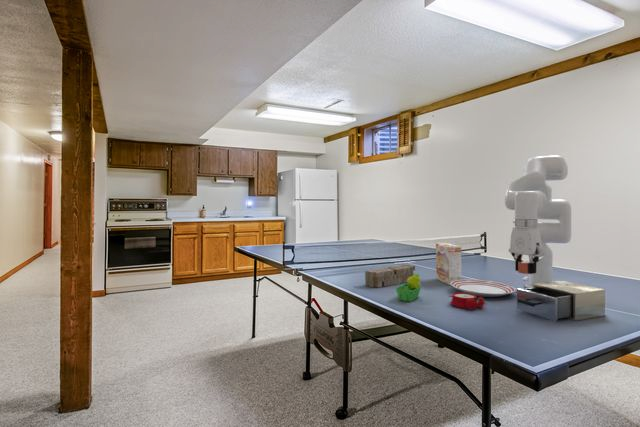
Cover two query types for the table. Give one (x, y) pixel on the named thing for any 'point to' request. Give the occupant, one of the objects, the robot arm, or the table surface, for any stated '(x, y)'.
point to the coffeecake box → (448, 262)
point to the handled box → (545, 303)
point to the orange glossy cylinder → (523, 267)
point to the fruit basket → (409, 289)
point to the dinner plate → (482, 288)
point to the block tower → (388, 275)
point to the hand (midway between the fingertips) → (525, 271)
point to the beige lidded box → (580, 298)
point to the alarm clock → (467, 300)
